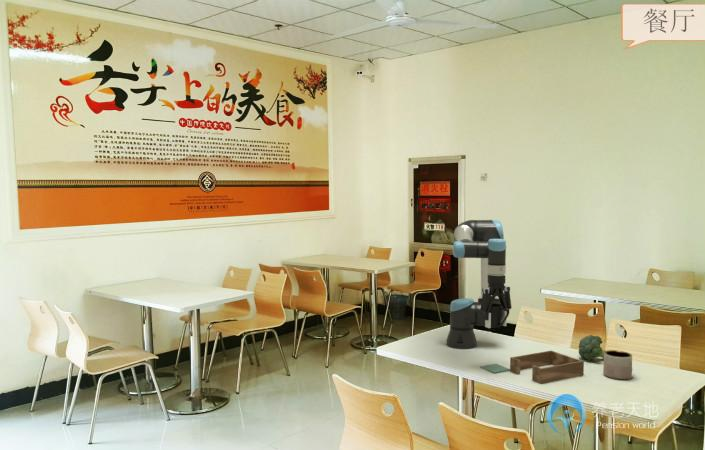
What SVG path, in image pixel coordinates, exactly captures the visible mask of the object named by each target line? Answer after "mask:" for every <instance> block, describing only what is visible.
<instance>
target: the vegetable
mask: <svg viewBox="0 0 705 450" xmlns="http://www.w3.org/2000/svg"><path fill="white" fill-rule="evenodd" d="M602 343H603V340H602V338H601V337H600V336H599V335H593V334H589V335H587V336H584V337H583V338H581V339H580V340H579V344H578V348H579V349H578V355H579V356H580V357H581V358H582V359H586V360H587V361H588V362H589V361H591V360H593V359H595V358H602V360H604V352H605V351H607V350H606V349H603V348H602V346H601V344H602Z"/></svg>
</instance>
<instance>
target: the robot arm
mask: <svg viewBox="0 0 705 450" xmlns="http://www.w3.org/2000/svg"><path fill="white" fill-rule="evenodd" d="M453 236H454V239H455V241H454V242H453V246H452V247H453V253H452V254H453V257H455V258H458V259H480V295H479V297H478V298H477V301H475V300H474V299H473V298H469V297H467V298H465V297H464V298H458V299H457V298H456V299H454V300H452V301H451V302H450V307H449V308H450V309H449V315H450V317H449V331H448V334H447V338H446V340H445V342H446V345H447V346H448V347H450V348H453V349H454V348H455V349H461V350H464V349H465V350H467V349H473V348H477V346H478V343H477V338H476V335H475V332H474V331H475V330H474V326H484V327H485V328H487V329H491V313H489V312H490V309H491V306H492V303H497V304H502V305H503V308H507V309H509V311H510V310H512V299H511V294H510V293H511V287H510V286H507V285H505V284H506V265H507V264H506V260H507V259H506V258H507V241H506V240H505V239H504V228H503V224H502V222H501V221H500V220H497V219H496V220H494V219H470V220H465V221H463V222H461V223H459V224H458V225H457V226H456V227H455V229H454V232H453ZM506 314H507V311H506V310H504V309H503V314H502V319H501V323H502V322H503V320H504V318H505V317H506ZM502 326H503V327H507V320H506V321H505V322H504V324H503V325H502Z"/></svg>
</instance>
